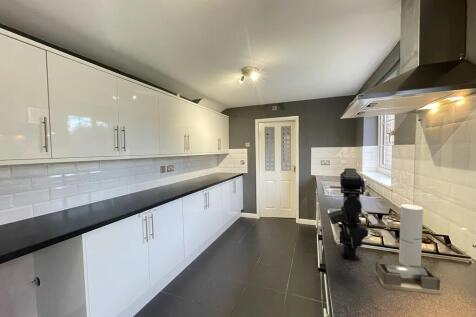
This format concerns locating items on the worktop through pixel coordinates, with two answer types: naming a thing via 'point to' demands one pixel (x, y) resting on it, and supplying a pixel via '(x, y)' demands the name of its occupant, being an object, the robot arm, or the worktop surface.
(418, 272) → the rail
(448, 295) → the worktop surface
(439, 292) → the board
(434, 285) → the brackets
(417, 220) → the cylindrical container
